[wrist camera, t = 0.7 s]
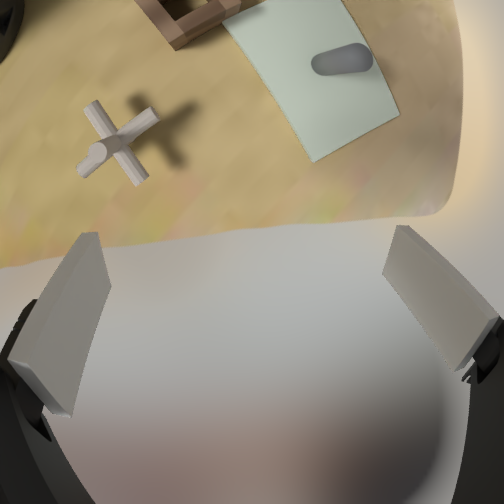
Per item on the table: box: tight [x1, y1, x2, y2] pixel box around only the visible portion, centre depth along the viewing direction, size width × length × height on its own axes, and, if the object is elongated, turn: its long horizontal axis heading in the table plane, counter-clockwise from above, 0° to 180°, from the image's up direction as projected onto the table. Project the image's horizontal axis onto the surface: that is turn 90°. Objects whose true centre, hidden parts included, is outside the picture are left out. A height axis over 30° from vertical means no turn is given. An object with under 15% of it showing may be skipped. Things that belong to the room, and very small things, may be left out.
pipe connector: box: [76, 100, 160, 186], centre depth 24 cm, size 10×10×10 cm
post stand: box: [222, 0, 400, 163], centre depth 23 cm, size 20×14×10 cm
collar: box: [135, 0, 242, 51], centre depth 20 cm, size 8×8×5 cm
